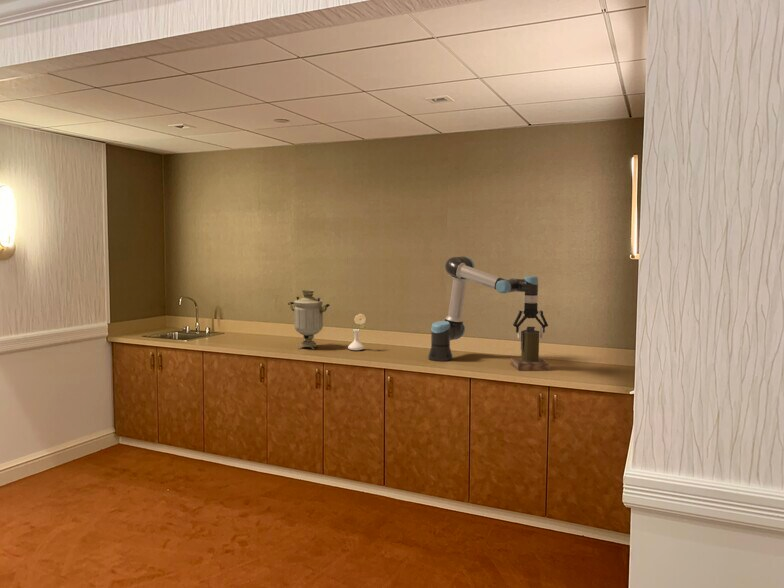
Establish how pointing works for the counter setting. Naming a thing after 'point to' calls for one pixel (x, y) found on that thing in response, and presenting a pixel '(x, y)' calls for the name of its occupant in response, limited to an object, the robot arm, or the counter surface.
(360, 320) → the flower in vase
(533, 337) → the canister
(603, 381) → the counter surface
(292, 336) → the counter surface
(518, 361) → the walnut base
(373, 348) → the counter surface
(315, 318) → the samovar
